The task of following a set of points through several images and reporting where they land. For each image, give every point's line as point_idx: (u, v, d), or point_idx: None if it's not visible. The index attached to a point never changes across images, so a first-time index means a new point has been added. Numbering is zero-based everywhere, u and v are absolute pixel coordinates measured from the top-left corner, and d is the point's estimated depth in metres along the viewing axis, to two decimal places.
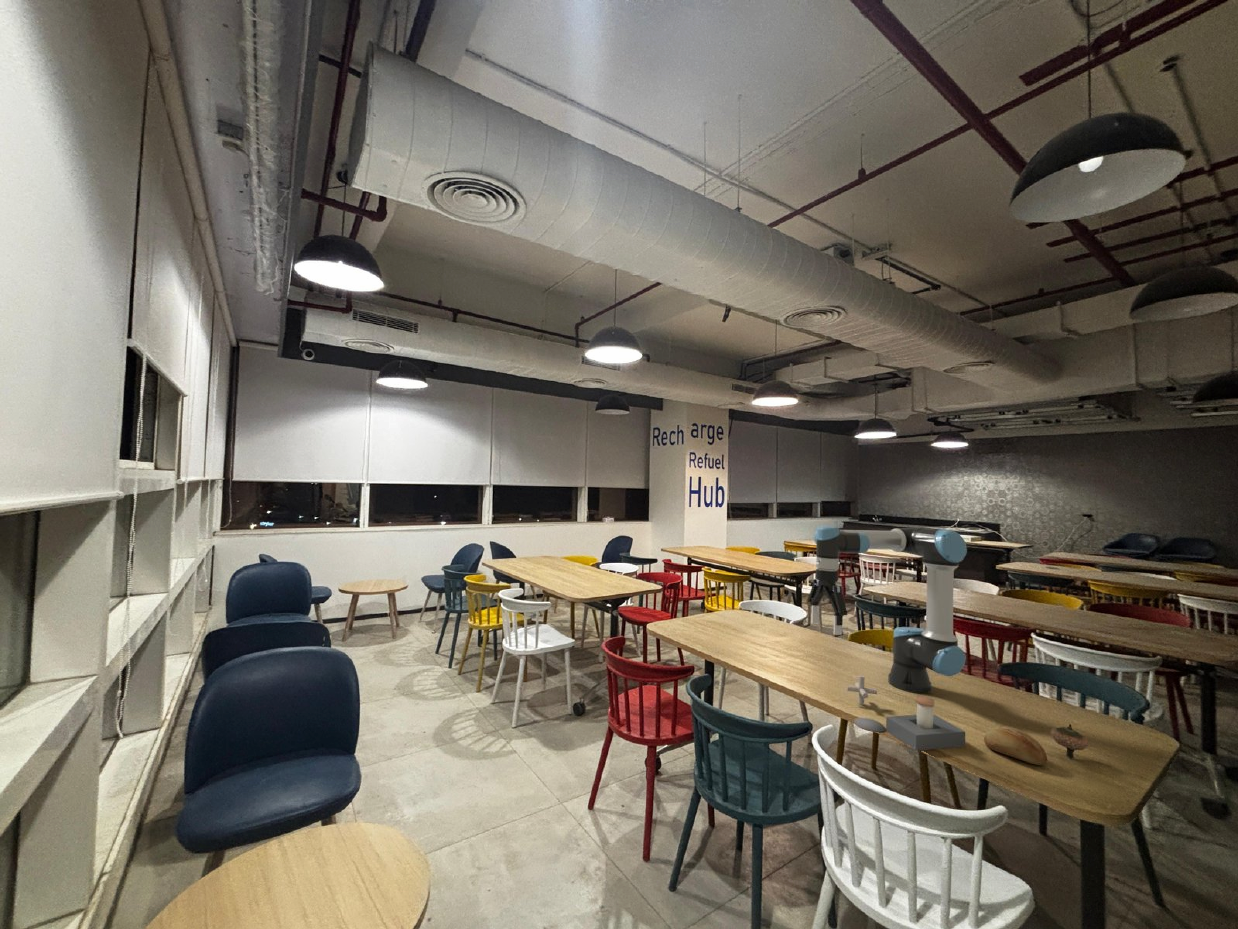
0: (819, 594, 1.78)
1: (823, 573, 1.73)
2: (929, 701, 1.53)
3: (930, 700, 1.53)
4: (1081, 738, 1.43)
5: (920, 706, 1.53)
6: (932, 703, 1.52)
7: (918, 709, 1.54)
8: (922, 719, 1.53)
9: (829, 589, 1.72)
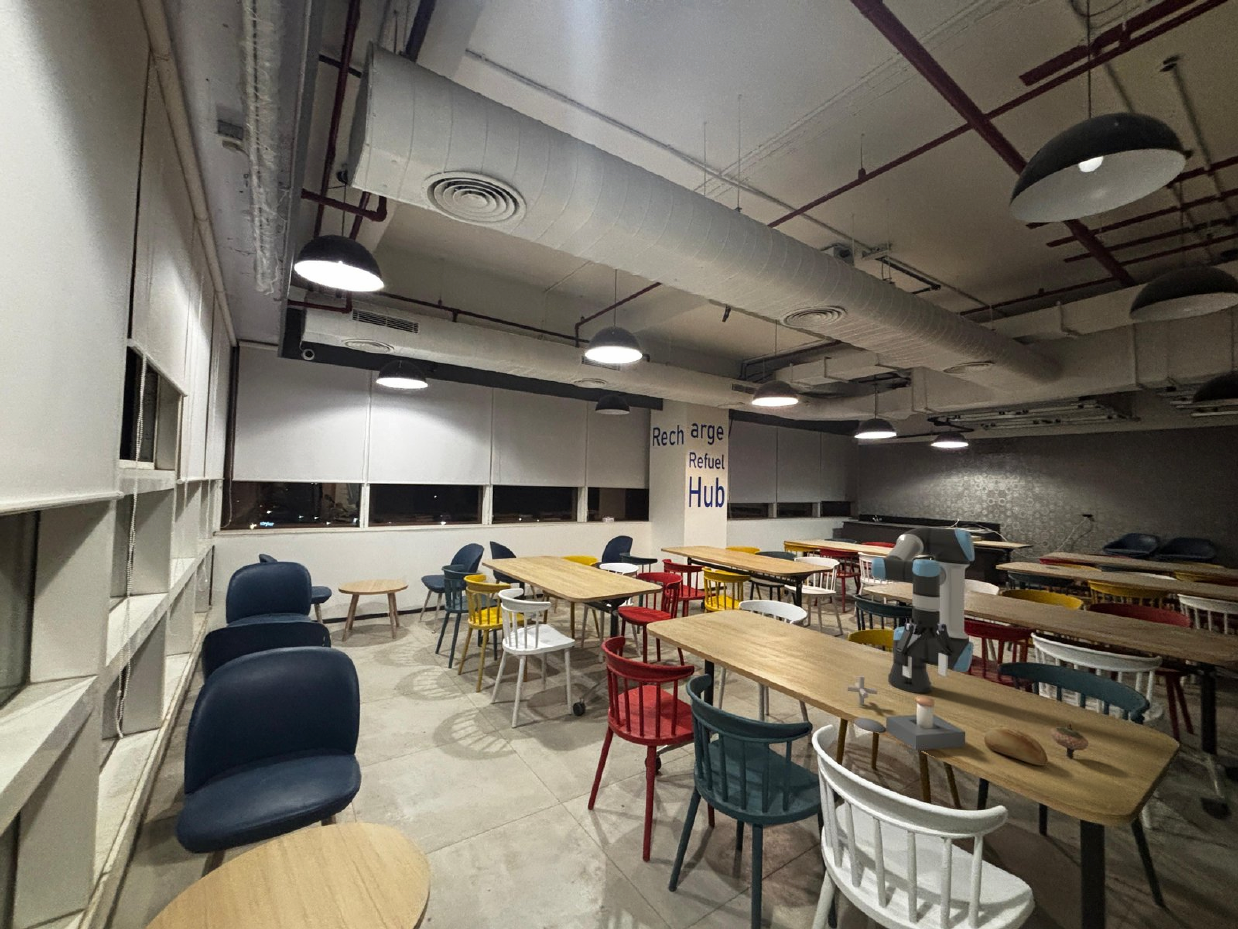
0: (932, 638, 1.57)
1: (912, 609, 1.58)
2: (929, 701, 1.53)
3: (930, 700, 1.53)
4: (1081, 738, 1.43)
5: (920, 706, 1.53)
6: (932, 703, 1.52)
7: (918, 709, 1.54)
8: (922, 719, 1.53)
9: None
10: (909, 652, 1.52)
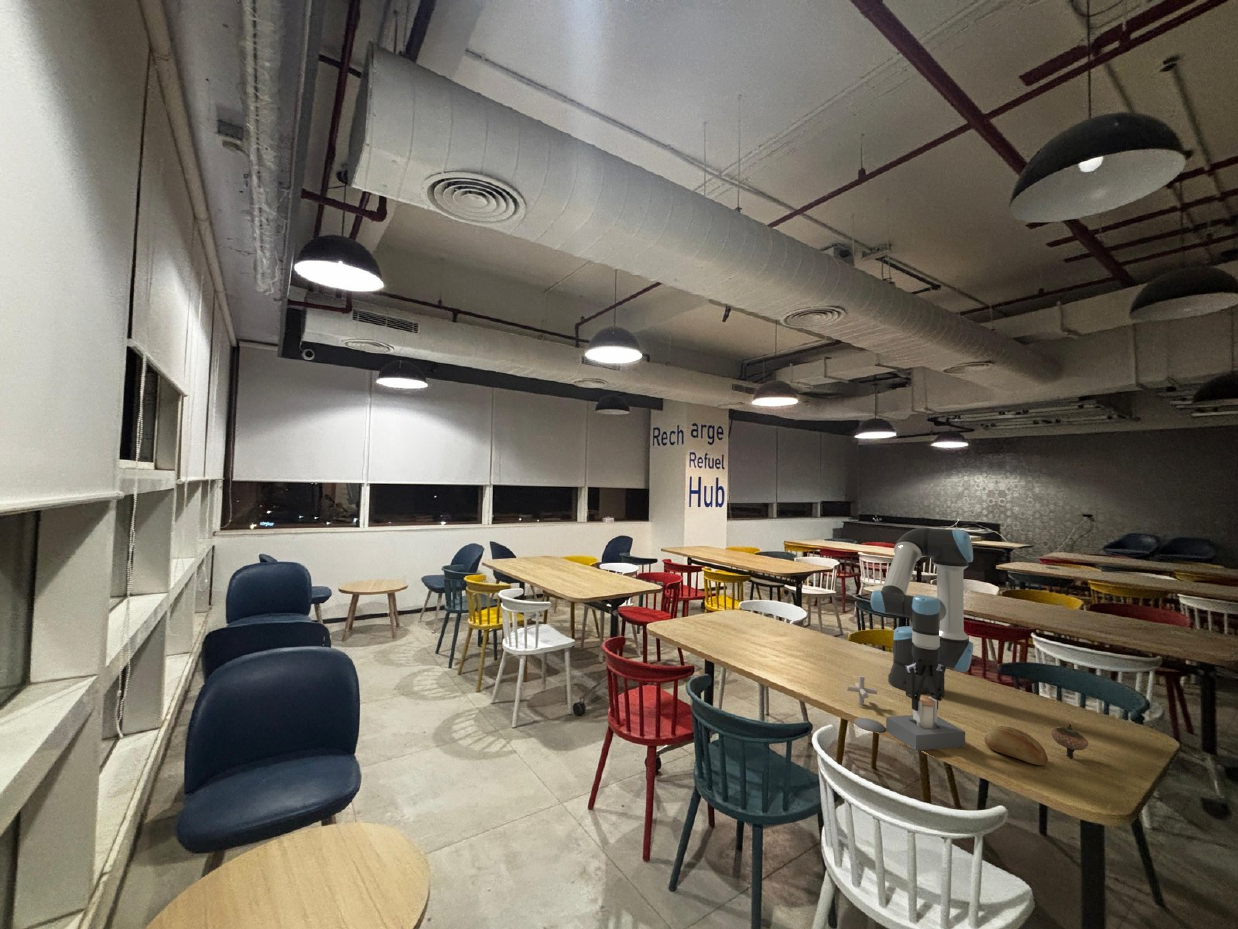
0: (927, 677, 1.56)
1: (912, 646, 1.57)
2: (930, 701, 1.53)
3: (930, 700, 1.53)
4: (1081, 738, 1.43)
5: None
6: (932, 703, 1.52)
7: None
8: (922, 719, 1.53)
9: None
10: (918, 696, 1.52)
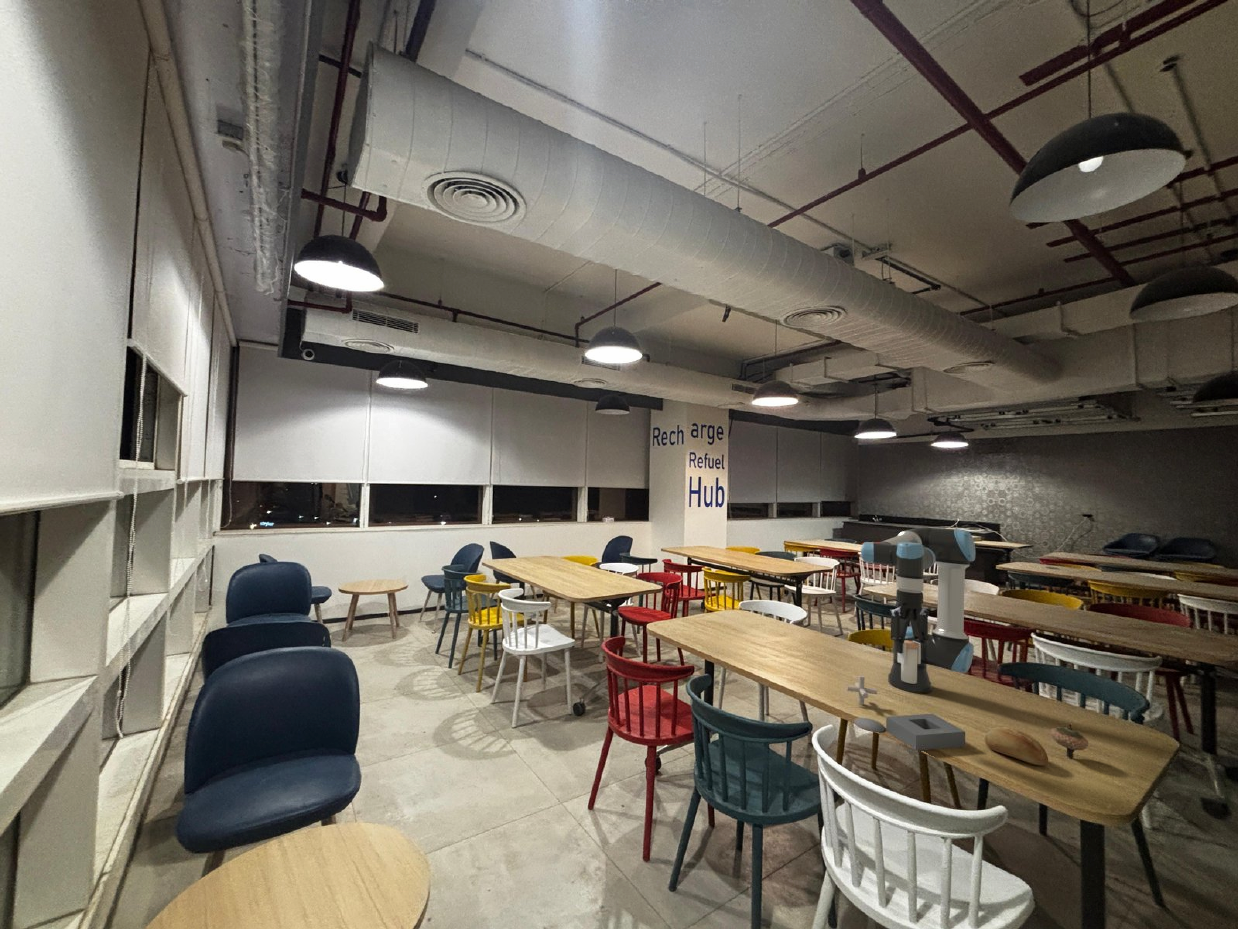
0: (911, 621, 1.59)
1: None
2: (914, 644, 1.56)
3: (914, 643, 1.56)
4: (1081, 738, 1.43)
5: None
6: (916, 645, 1.55)
7: None
8: (907, 661, 1.55)
9: None
10: (903, 639, 1.55)
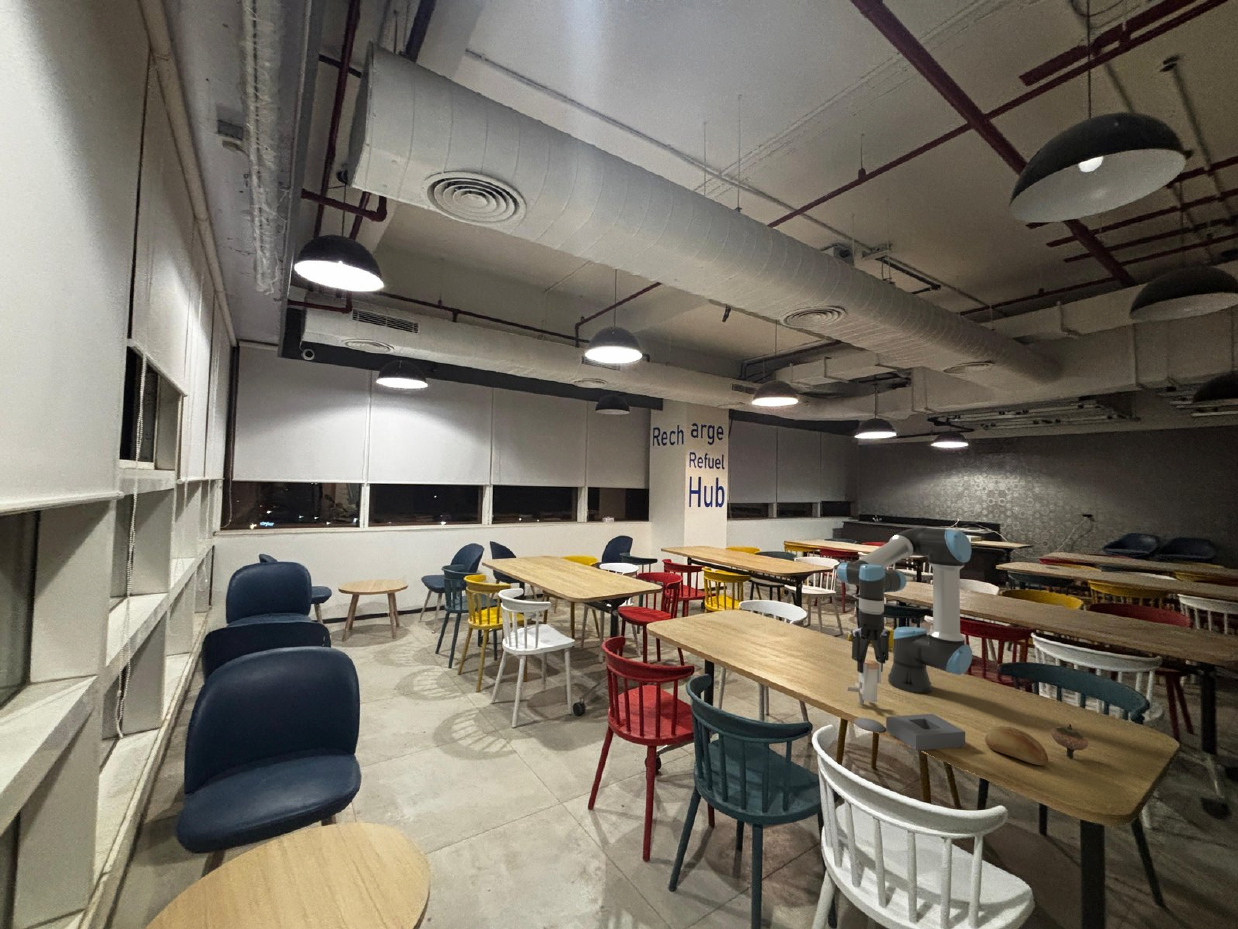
0: (873, 642, 1.63)
1: None
2: (874, 663, 1.61)
3: (875, 663, 1.61)
4: (1081, 738, 1.43)
5: None
6: (876, 665, 1.60)
7: None
8: (867, 680, 1.60)
9: None
10: (863, 659, 1.60)
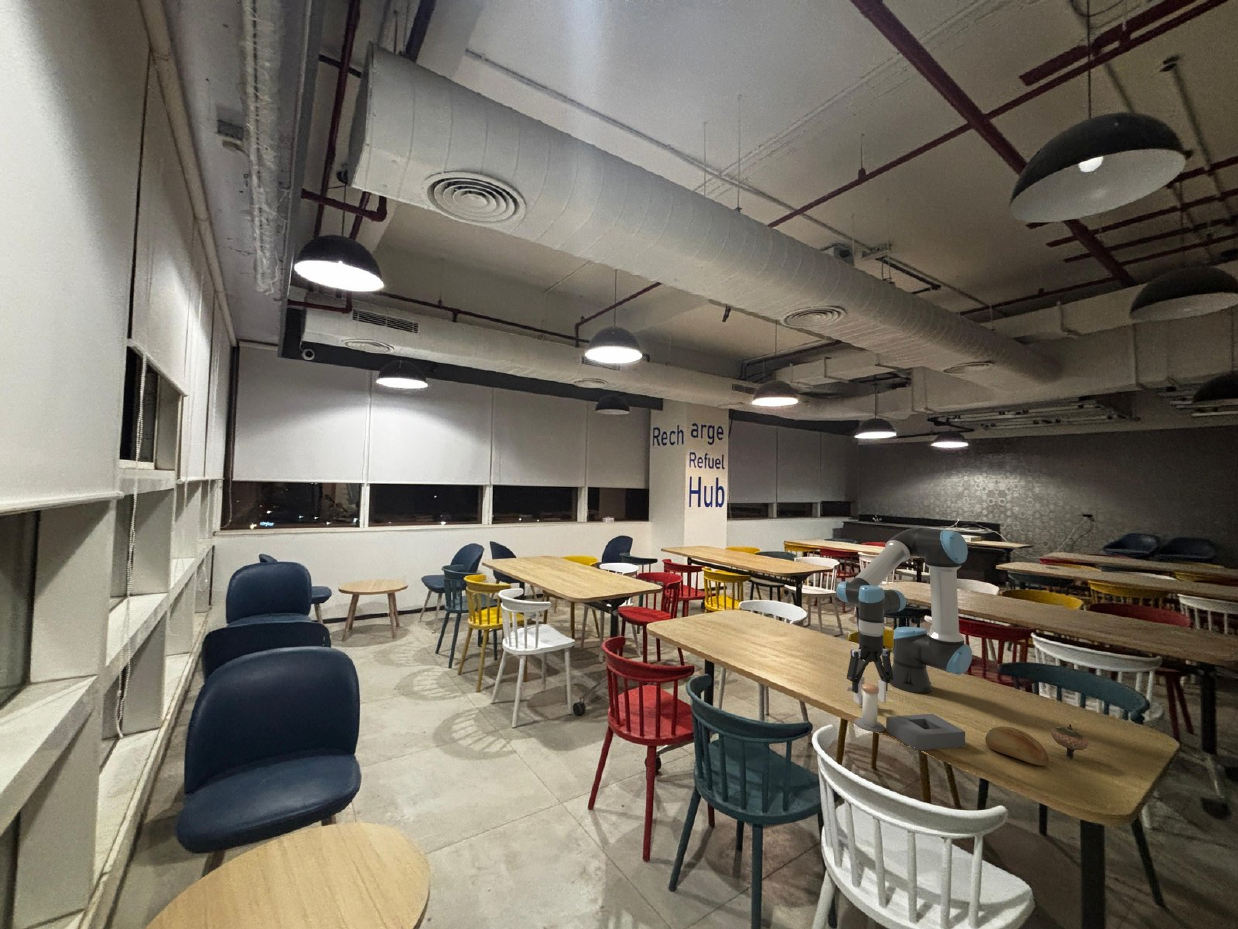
0: (875, 663, 1.63)
1: None
2: (874, 688, 1.60)
3: (875, 687, 1.61)
4: (1081, 738, 1.43)
5: (865, 693, 1.61)
6: (876, 690, 1.59)
7: (864, 696, 1.61)
8: (867, 705, 1.60)
9: None
10: (858, 679, 1.59)
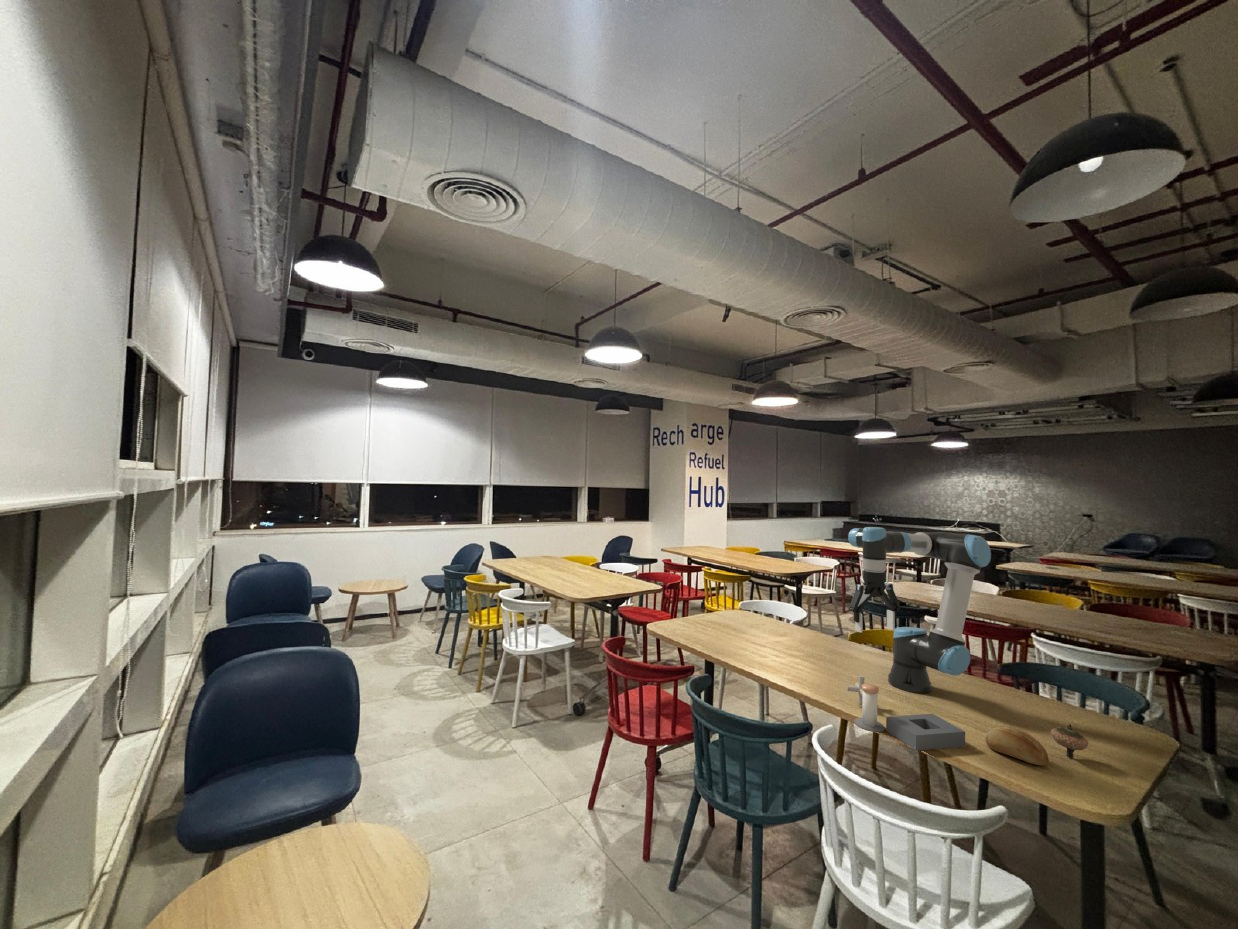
0: (880, 597, 1.75)
1: None
2: (874, 688, 1.60)
3: (875, 687, 1.61)
4: (1081, 738, 1.43)
5: (865, 693, 1.61)
6: (876, 690, 1.59)
7: (863, 696, 1.61)
8: (867, 705, 1.60)
9: None
10: (860, 610, 1.70)
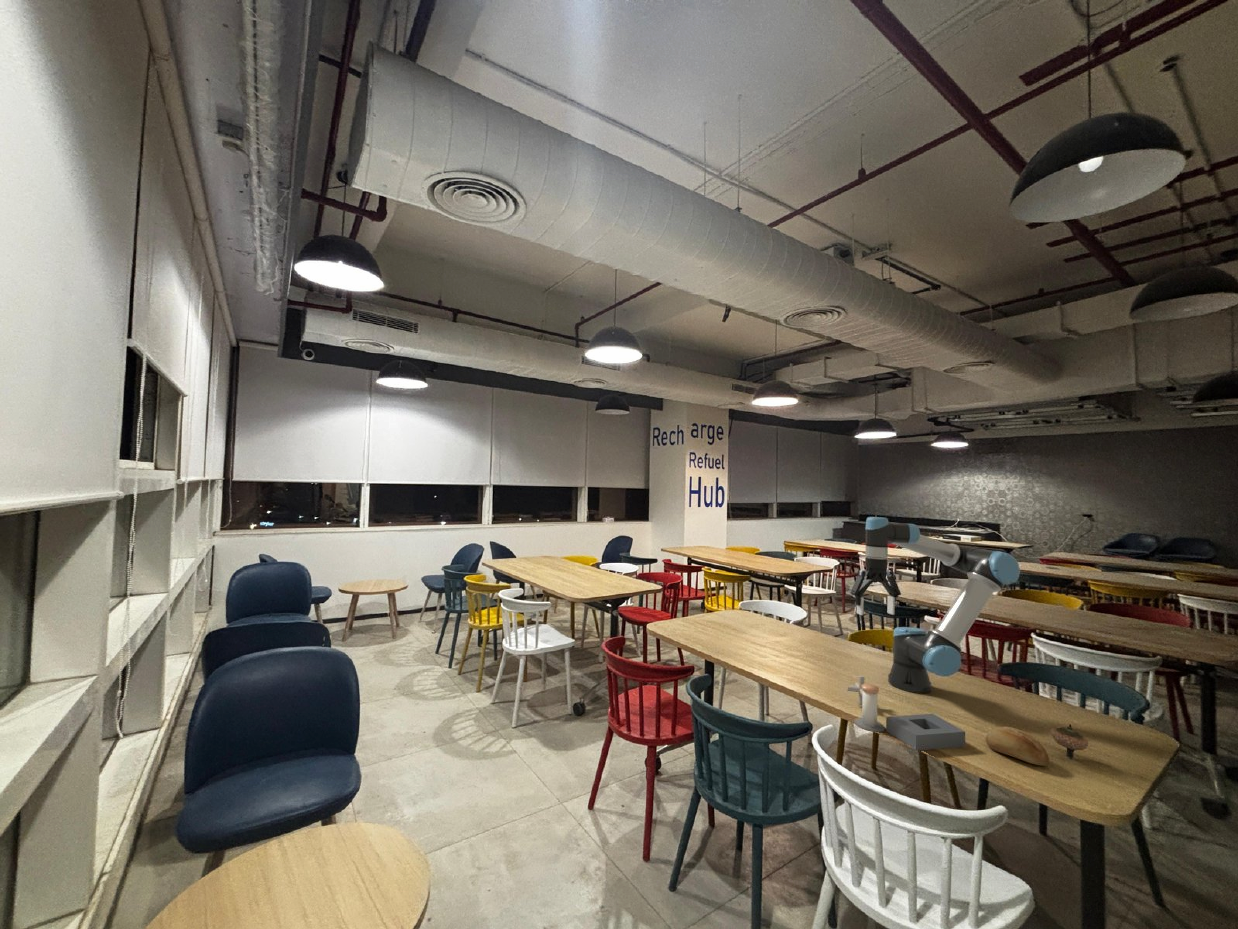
0: (882, 583, 1.86)
1: None
2: (874, 688, 1.60)
3: (875, 687, 1.61)
4: (1081, 738, 1.43)
5: (865, 693, 1.61)
6: (876, 690, 1.59)
7: (863, 696, 1.61)
8: (867, 705, 1.60)
9: None
10: (861, 593, 1.81)
